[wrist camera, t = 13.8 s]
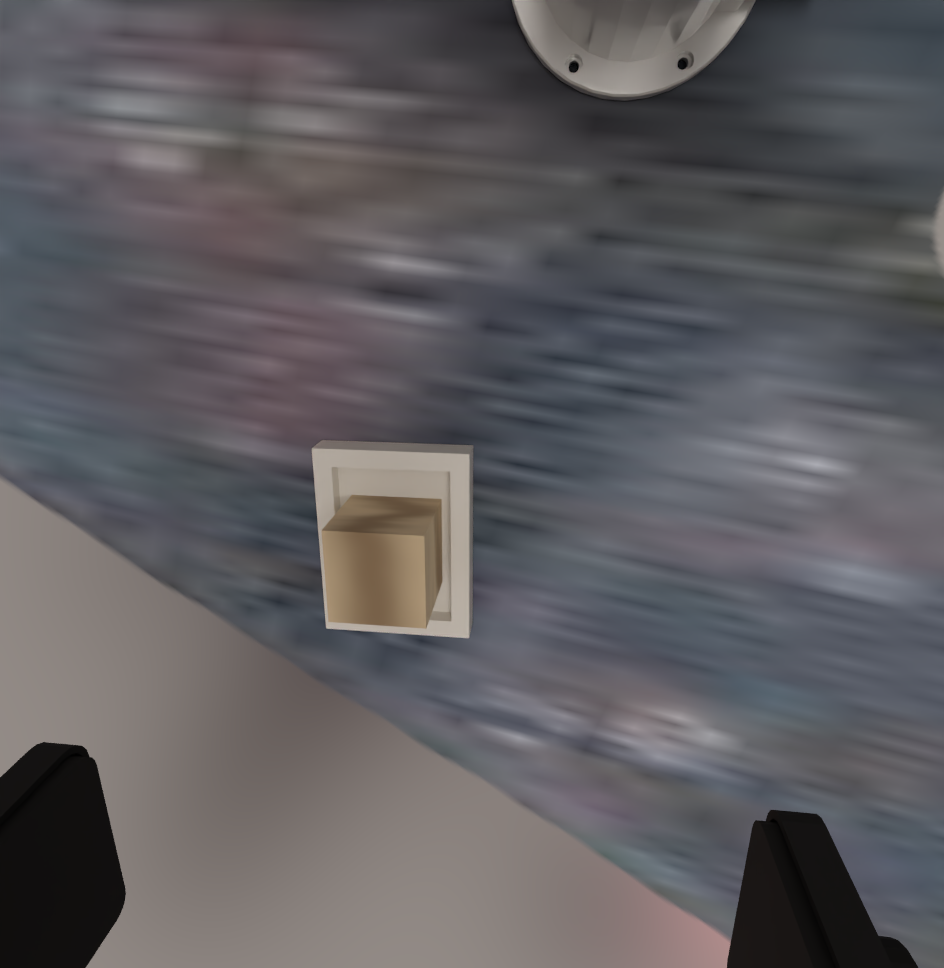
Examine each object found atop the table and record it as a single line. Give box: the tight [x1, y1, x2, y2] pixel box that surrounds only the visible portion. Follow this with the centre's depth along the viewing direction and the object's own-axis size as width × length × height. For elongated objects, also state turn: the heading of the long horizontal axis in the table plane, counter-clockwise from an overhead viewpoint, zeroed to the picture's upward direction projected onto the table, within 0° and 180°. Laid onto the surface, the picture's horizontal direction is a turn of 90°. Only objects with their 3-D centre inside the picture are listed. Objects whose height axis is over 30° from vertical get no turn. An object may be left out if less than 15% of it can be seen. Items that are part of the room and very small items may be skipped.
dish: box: [312, 440, 473, 638], centre depth 44 cm, size 10×13×2 cm
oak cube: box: [321, 495, 442, 629], centre depth 41 cm, size 6×6×6 cm
